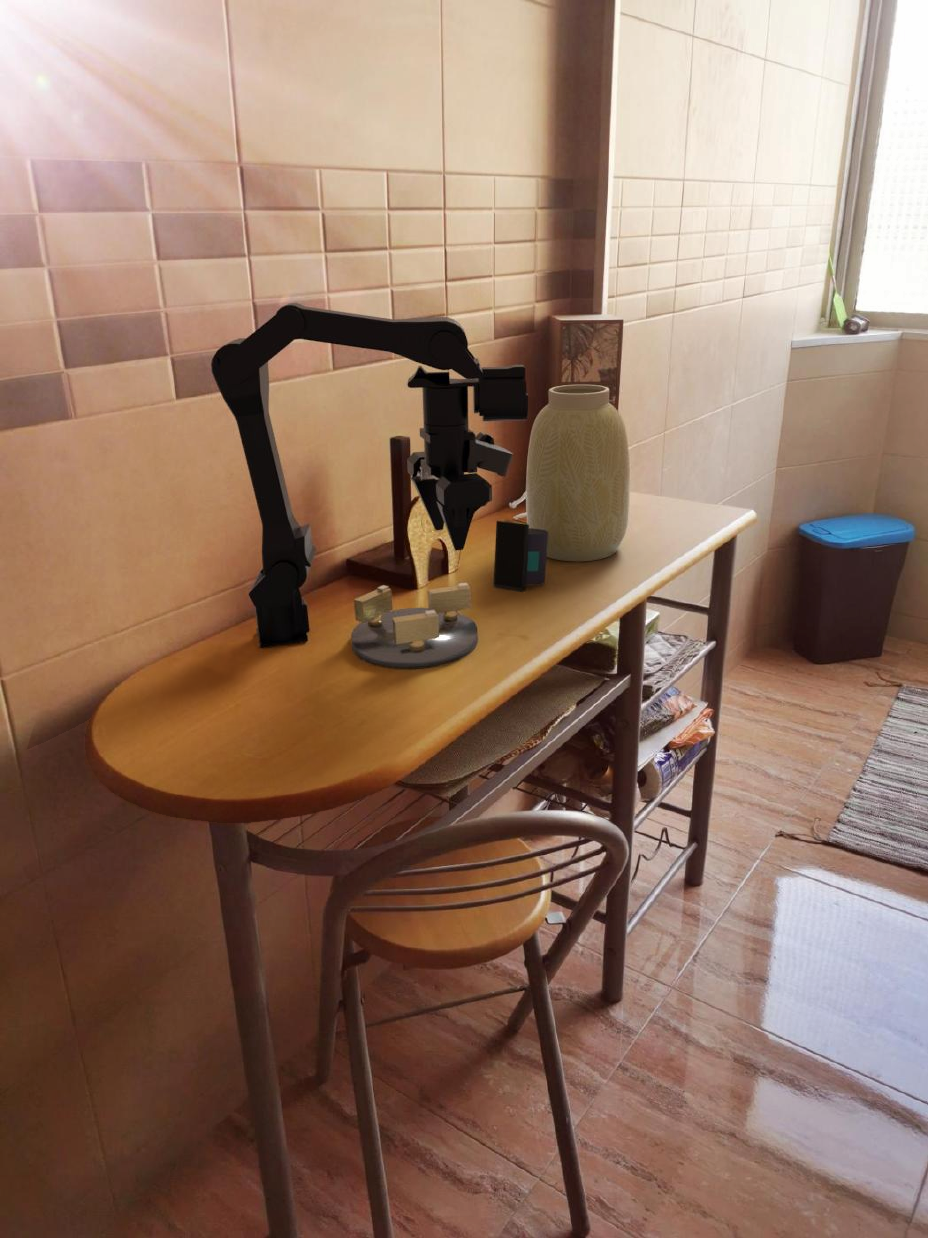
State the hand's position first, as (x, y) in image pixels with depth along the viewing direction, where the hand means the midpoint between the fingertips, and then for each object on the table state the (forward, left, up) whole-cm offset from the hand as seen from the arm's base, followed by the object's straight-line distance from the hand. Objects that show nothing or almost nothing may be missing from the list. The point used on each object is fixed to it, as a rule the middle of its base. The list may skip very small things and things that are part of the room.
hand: (448, 539), depth 124 cm
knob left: (-10, +2, -11) cm, 16 cm away
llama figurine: (+31, +41, -14) cm, 53 cm away
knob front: (-7, -8, -11) cm, 16 cm away
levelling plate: (-6, -2, -13) cm, 15 cm away
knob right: (0, 0, -11) cm, 11 cm away
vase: (+29, +26, -13) cm, 41 cm away
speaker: (+15, +14, -13) cm, 24 cm away
